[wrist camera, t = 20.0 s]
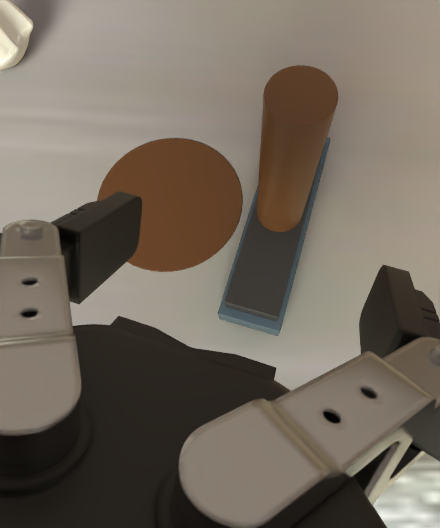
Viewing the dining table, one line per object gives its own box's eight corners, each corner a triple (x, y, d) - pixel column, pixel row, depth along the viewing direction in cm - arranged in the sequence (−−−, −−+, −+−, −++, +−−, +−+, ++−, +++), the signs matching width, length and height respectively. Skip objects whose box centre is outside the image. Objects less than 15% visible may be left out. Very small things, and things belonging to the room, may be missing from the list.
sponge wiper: (219, 320, 25) (194, 248, 13) (274, 144, 28) (295, -43, 16) (277, 337, 24) (308, 278, 12) (325, 155, 28) (385, -29, 16)
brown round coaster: (77, 176, 29) (75, 175, 28) (203, 119, 30) (202, 117, 29) (130, 298, 26) (129, 297, 25) (269, 230, 26) (269, 229, 26)
